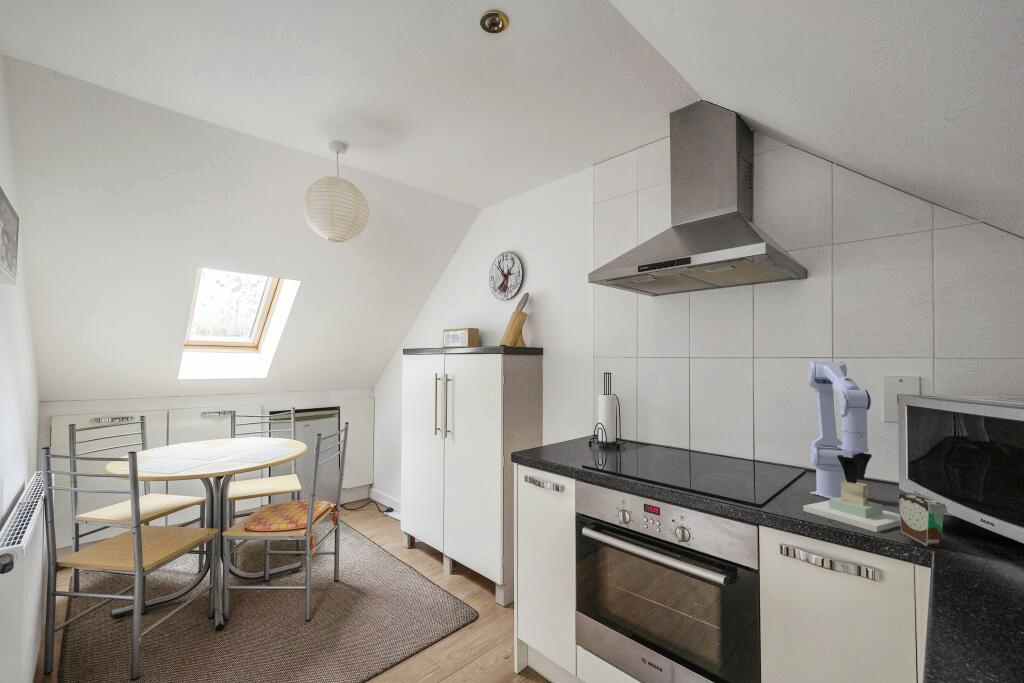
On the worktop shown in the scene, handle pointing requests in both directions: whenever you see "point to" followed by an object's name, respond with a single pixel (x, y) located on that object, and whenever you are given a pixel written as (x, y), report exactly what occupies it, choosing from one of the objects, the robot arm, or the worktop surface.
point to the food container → (921, 517)
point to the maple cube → (854, 493)
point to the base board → (855, 520)
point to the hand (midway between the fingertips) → (855, 480)
